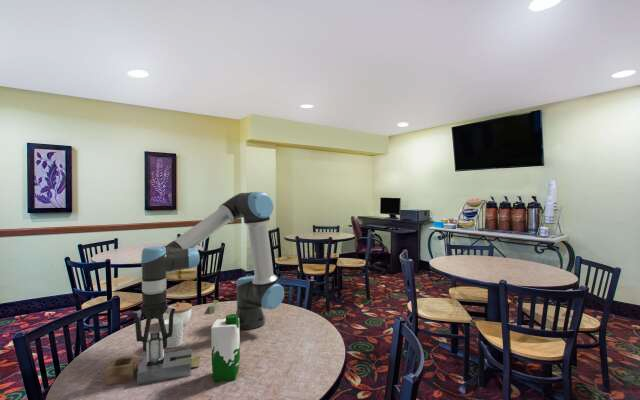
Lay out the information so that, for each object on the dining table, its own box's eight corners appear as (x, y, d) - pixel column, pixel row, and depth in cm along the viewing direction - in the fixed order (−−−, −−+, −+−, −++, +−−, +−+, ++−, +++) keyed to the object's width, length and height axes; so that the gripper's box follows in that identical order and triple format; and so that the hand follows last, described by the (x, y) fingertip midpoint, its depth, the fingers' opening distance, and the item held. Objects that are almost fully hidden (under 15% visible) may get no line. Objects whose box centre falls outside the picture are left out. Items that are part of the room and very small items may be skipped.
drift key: (199, 363, 116) (199, 353, 116) (199, 366, 114) (199, 356, 114) (175, 367, 113) (175, 357, 113) (175, 370, 111) (174, 360, 111)
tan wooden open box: (138, 368, 114) (137, 354, 114) (133, 380, 106) (132, 365, 106) (112, 373, 111) (112, 358, 111) (105, 385, 103) (105, 369, 104)
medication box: (214, 314, 170) (214, 307, 170) (208, 314, 169) (209, 307, 169) (218, 306, 182) (218, 300, 182) (213, 306, 181) (213, 299, 181)
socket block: (192, 359, 120) (191, 348, 120) (190, 375, 108) (190, 363, 108) (144, 367, 114) (144, 356, 114) (137, 385, 103) (137, 372, 103)
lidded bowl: (197, 323, 157) (197, 301, 157) (174, 332, 146) (173, 308, 146) (182, 319, 163) (181, 297, 164) (158, 327, 153) (158, 304, 153)
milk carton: (237, 381, 104) (236, 320, 104) (209, 383, 103) (208, 321, 103) (241, 367, 113) (240, 311, 113) (215, 369, 112) (214, 312, 112)
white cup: (175, 349, 128) (175, 324, 129) (158, 348, 130) (158, 323, 130) (187, 341, 136) (187, 317, 136) (171, 340, 138) (170, 317, 138)
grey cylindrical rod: (162, 369, 112) (161, 330, 113) (160, 374, 109) (160, 334, 109) (150, 371, 111) (150, 331, 111) (149, 377, 108) (148, 335, 108)
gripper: (181, 286, 117) (182, 350, 117) (129, 291, 111) (130, 358, 111) (179, 291, 110) (180, 359, 109) (124, 297, 104) (125, 368, 104)
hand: (155, 358), depth 110 cm, fingers closed on grey cylindrical rod, 4 cm apart
